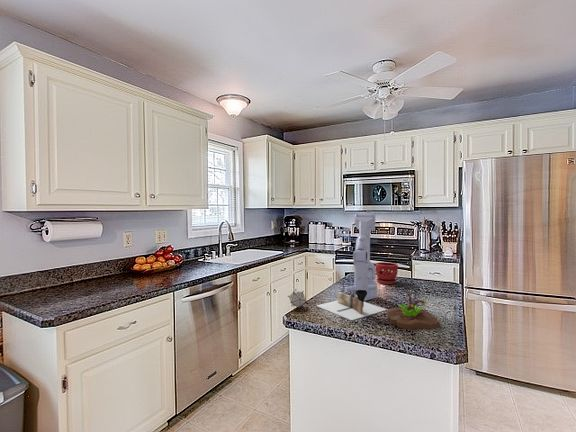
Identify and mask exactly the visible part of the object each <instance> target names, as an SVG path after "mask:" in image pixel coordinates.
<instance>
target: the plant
mask: <svg viewBox="0 0 576 432" xmlns="http://www.w3.org/2000/svg"><path fill="white" fill-rule="evenodd" d="M406 297H409V298H408V304H405V303H403V305H401V304H398V307H397V308H396V307H395V308H387V310H386V315H387V322H389V323H390V324H391V325H393V326H394V325H395V326H397V328H399V329H404V330H416V329H420V330H432V329H433V330H434V329H436V328H439V327H440V325H441V324H440V321H439V320H438V317H437V316H435V315H434V314H432V313H431V312H429V311H428V310H424V306H425V305H426V302H425V300H417V301H415V302H414V301H413V300H412V296H411V293H410V292H407V293H406ZM418 303H421V304H422V305H423V306H419V307H417V305H418Z"/></svg>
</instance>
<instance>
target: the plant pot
mask: <svg viewBox="0 0 576 432" xmlns="http://www.w3.org/2000/svg"><path fill="white" fill-rule="evenodd" d="M398 269H399V266H398V263H394V262H385V261H384V262H383V261H381V262H376V263H375V270H376V277H377V278H376V282H377V283H379V284H383V285H393V284H396V283H397V280H396V278H397V275H398Z"/></svg>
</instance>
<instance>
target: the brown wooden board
mask: <svg viewBox="0 0 576 432" xmlns="http://www.w3.org/2000/svg"><path fill="white" fill-rule="evenodd" d="M353 308H354V309H355V310H356V311H358V312H359V313H360V314H362V313H363V302H362V301H360V300H359V299H358V298H357V297H355V296H354V297H353Z"/></svg>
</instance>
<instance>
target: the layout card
mask: <svg viewBox="0 0 576 432" xmlns="http://www.w3.org/2000/svg"><path fill="white" fill-rule="evenodd" d="M315 306H316V308H320V309H322V310H324V311H327V312H330V313H332V314H335V315H337V316H339V317H342V318H345V319H346V320H349V321H351V322H352V321H355V320H359V319H363V318H366V317H369V316H372V315H375V314H379V313H382V312H385V311H386V312H387V310H388V308H384V307H380V306H378V305H375V304H372V303H368V302H365V301H364V306H363V313H362V314H360V313H359V312H358V311H356V310H355V309H354V308H351V307H349V306H346V305H343V304H340V303H338V299H337V300H334V301H333V300H332V301H330V302H325V303H321V304H317V305H315Z"/></svg>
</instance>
